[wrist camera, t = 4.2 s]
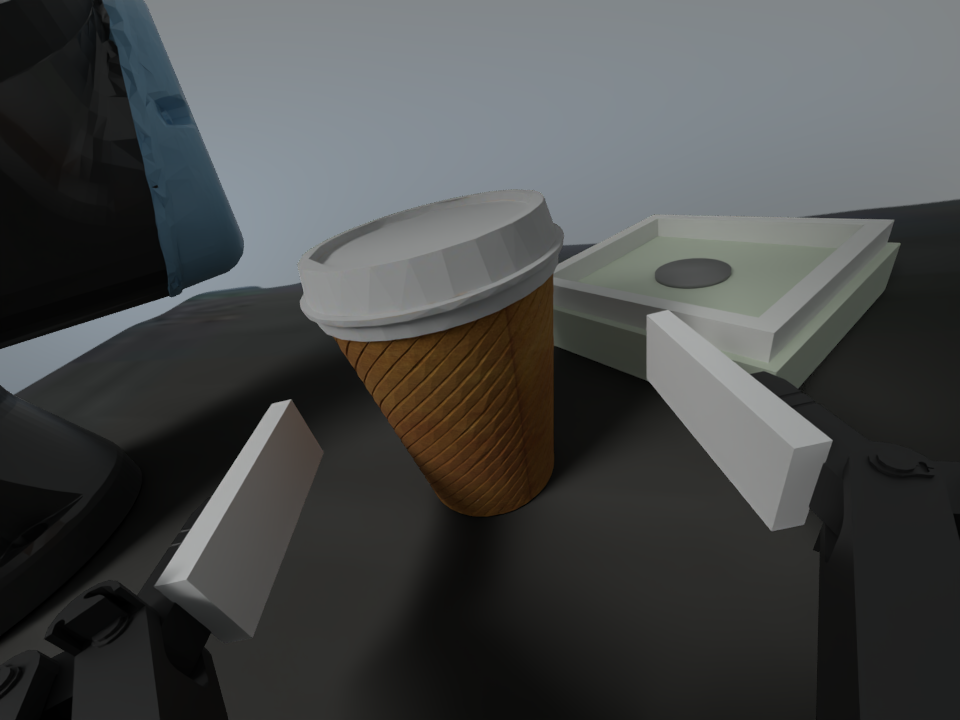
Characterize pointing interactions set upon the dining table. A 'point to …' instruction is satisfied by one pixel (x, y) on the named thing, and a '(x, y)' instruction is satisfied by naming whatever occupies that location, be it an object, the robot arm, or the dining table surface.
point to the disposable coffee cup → (452, 337)
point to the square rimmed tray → (725, 288)
